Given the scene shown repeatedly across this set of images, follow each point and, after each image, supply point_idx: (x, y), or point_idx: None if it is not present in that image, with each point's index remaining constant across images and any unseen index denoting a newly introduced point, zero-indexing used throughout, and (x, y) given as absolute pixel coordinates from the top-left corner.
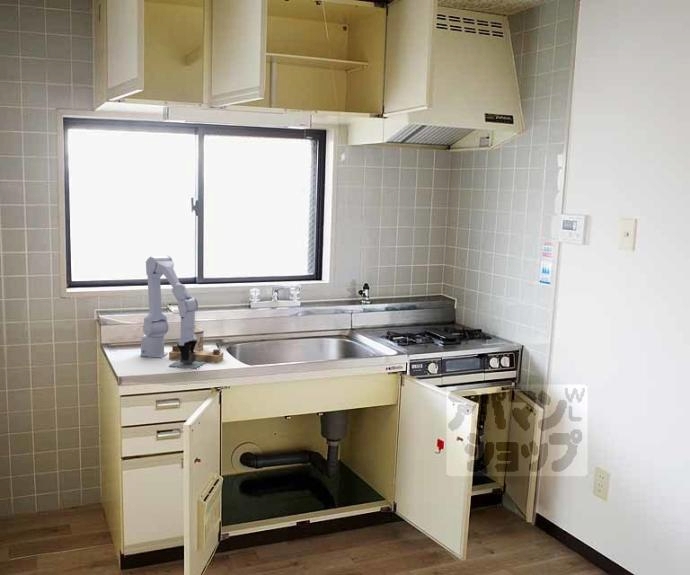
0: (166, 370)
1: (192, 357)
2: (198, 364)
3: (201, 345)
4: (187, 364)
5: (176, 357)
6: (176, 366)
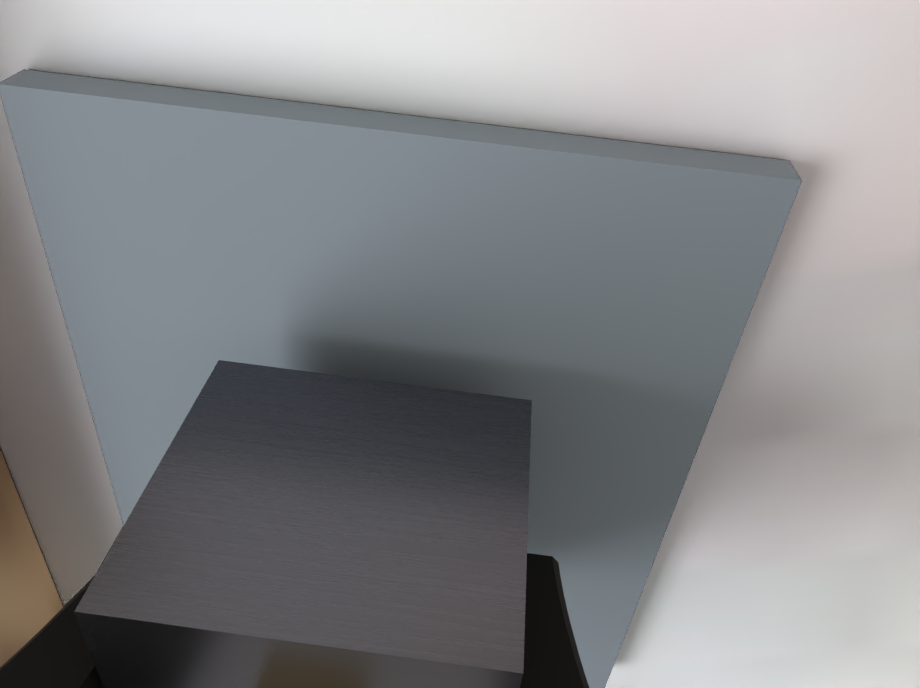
0: (865, 667)
1: (454, 524)
2: (360, 215)
3: None
4: None
5: None
6: (635, 595)
